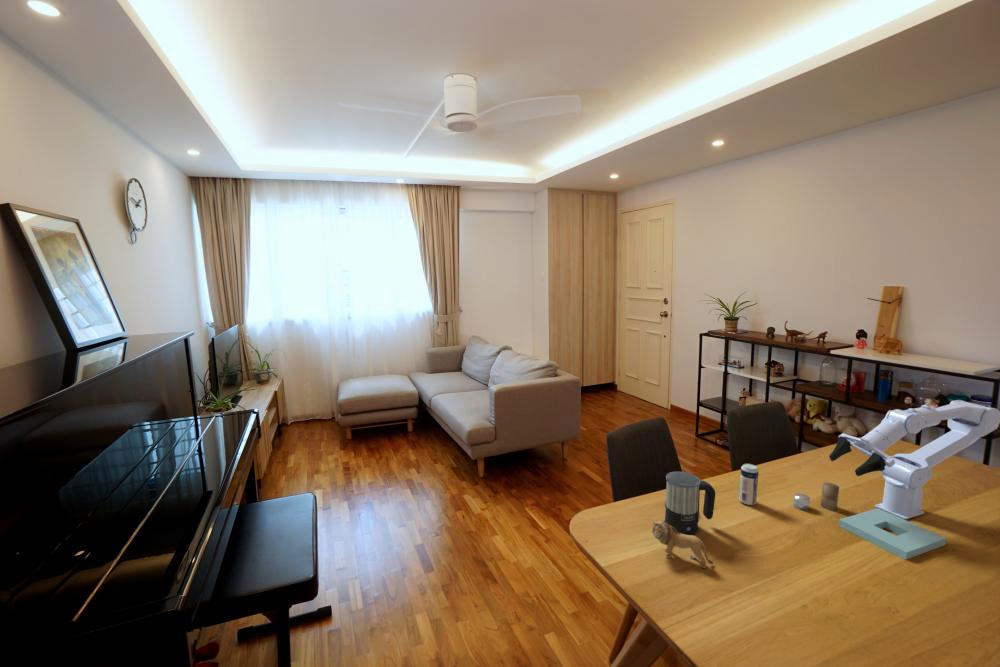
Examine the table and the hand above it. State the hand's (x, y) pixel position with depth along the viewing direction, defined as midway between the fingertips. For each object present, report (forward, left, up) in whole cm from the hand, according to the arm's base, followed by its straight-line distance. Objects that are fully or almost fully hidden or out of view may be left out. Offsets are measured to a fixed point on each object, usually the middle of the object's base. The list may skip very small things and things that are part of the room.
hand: (843, 465), depth 129 cm
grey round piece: (+4, -8, -16) cm, 19 cm away
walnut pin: (-4, -5, -16) cm, 17 cm away
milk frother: (+44, -16, -16) cm, 50 cm away
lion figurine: (+57, -2, -16) cm, 60 cm away
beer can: (+17, -16, -16) cm, 29 cm away
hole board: (-4, +11, -16) cm, 20 cm away
